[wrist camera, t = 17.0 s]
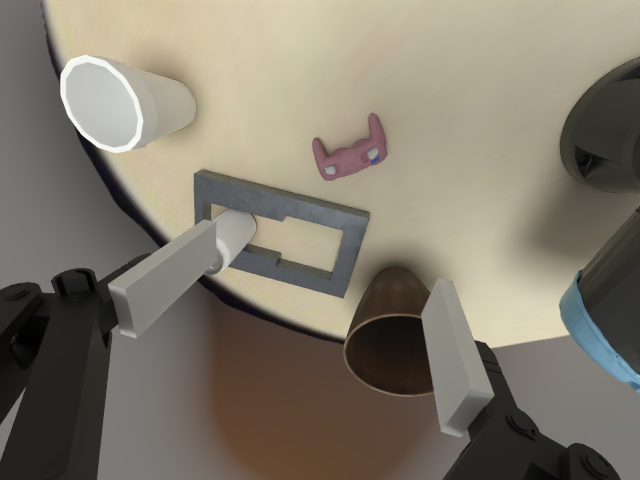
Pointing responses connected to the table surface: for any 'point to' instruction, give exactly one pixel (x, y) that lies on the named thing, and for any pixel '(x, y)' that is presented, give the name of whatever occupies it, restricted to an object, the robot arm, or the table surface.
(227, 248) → the can
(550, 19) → the table surface
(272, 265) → the keyhole plate
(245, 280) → the table surface
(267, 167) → the table surface
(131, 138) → the foam cup
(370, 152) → the video game controller
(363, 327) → the plant pot
